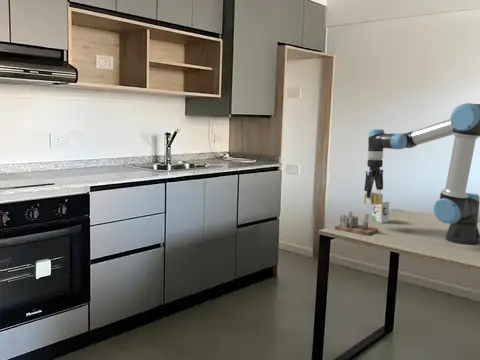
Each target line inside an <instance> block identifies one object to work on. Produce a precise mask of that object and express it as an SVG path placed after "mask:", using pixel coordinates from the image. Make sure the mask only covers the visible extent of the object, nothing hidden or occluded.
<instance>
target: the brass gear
mask: <svg viewBox="0 0 480 360" xmlns="http://www.w3.org/2000/svg"><path fill="white" fill-rule="evenodd" d="M363 198H364V202H363V203H364V204H366V200H367V192H366V193H364V197H363ZM383 200H384V195H383V193H381V194H379V193H375V192H372V204H371V205H372V206H373V205H380V204H382V203H383Z"/></svg>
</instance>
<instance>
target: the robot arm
mask: <svg viewBox="0 0 480 360" xmlns="http://www.w3.org/2000/svg"><path fill="white" fill-rule="evenodd" d="M449 136H454V140H453V141H454V142H453V146H452V151H451V156H450V162H449V167H448V171H447V176H446V182H445V188H444V189H443V190H441V191H440V194H439V195H440V196H439V199H438V200H436V202H435V203H434V205H433V214H434V215H435V217H436V219H437V220H438V221H440V222H441V223H443V224H447V225H448V228H447V231H446V233H445V239H446V241H449V242H452V243H456V244H463V245H477V244H480V232H479V231H480V230H479V228H478V224H479V223H478V222H479V221H478V220H479V213H480V212H479V211H480V196H479V194H475V193H468V192H466V191H467V186H468V182H469V175H470V169H471V166H472V161H473V155H474V150H475V146H476V141H477V139H479V138H480V103H471V102H470V103H469V102H467V103H462V104H460V105H458V106H456V107H455V108H454V109H453V110H452V112H451V114H450V118H449V119H446V120H442V121H439V122H436V123H434V124H430V125H426V126H425V127H420V128H418V129H414V130H413V131H408V132H404V133H403V132H402V133H386V132H385V130H384V129H382V128H381V129H380V128H379V129H378V128H377V129H376V128H372V129H369V130H368V137H367V139H368V141H367V142H368V145H367V147H368V148H367V158H368V159H367V163H366V166H367V167H369V169H368V170H367V171H365V180H364V181H365V182H364V192H366V193H367V200H366V203H365V204H366V205H372V193H373V191H372V190H373V186H374V184H375V189H374V193H379V194H382V192H381V191H383V190H384V176H383V175H384V170H383V169H381V168H382V167H383V158H384V149H391V150H404V149H412V148H415V147H416V146H419V145H422V144H424V143H425V144H426V143H429V142H432V141H436V140H438V139H439V140H440V139H443V138H446V137H449ZM374 182H375V183H374Z"/></svg>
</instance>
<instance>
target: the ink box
mask: <svg viewBox="0 0 480 360" xmlns="http://www.w3.org/2000/svg"><path fill="white" fill-rule="evenodd" d="M389 213H390V202H389V201H388V200H384V199H383V203H382V204H380V205H372V214H371V215H372V221H374V222H376V223H381V224H384V223H385V224H387V223H389Z"/></svg>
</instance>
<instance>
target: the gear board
mask: <svg viewBox="0 0 480 360" xmlns="http://www.w3.org/2000/svg"><path fill="white" fill-rule="evenodd" d="M369 216H370V215H369V213H362V217H361V225H360V224H359V216H357V215H353V211H350V210H348V211H346V212H345V215H344V214H343V215H341V216H340V218H339V225H335V226H334V230H337V231H343V232H348V233H353V234H359V235H363V236H369V235H372V234H374V233H377V232H379V228H377V227H374V226H373V227H372V226H369Z"/></svg>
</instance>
